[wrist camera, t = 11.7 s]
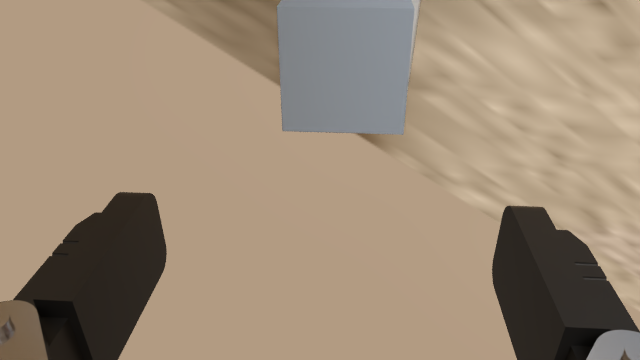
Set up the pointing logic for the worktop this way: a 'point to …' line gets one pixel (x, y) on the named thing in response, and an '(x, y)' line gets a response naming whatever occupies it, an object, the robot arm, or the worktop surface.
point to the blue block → (344, 64)
